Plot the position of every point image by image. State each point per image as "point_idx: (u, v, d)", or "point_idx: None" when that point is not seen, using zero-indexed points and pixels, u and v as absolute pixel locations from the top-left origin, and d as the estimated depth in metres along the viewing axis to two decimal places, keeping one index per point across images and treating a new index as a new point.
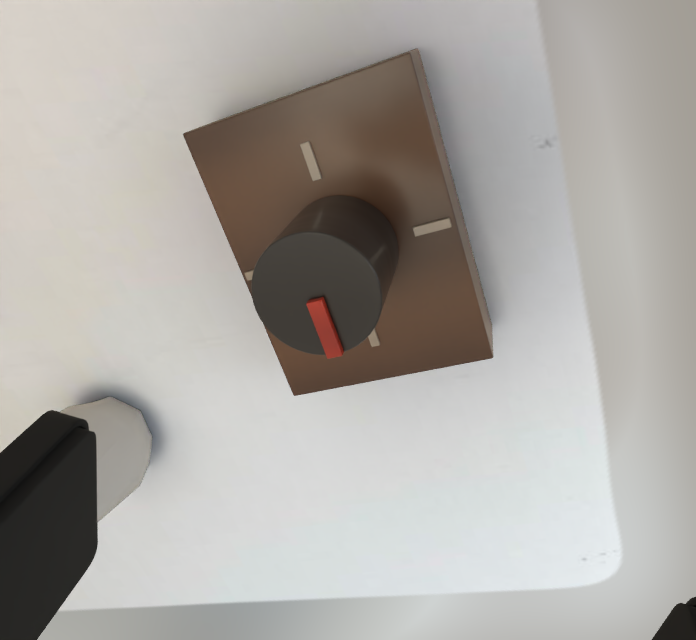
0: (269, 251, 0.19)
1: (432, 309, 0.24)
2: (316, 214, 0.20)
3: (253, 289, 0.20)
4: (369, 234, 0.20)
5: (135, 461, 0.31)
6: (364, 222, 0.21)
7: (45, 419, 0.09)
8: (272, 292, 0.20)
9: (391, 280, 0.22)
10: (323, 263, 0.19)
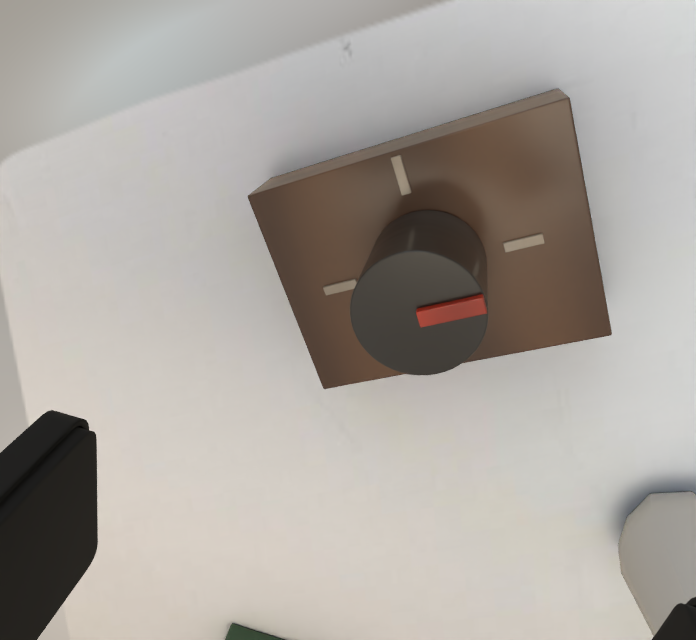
0: (371, 352, 0.20)
1: (498, 173, 0.21)
2: None
3: (411, 372, 0.20)
4: (375, 250, 0.20)
5: (695, 523, 0.26)
6: (372, 251, 0.21)
7: (45, 419, 0.09)
8: (413, 355, 0.20)
9: (437, 226, 0.20)
10: (380, 304, 0.19)
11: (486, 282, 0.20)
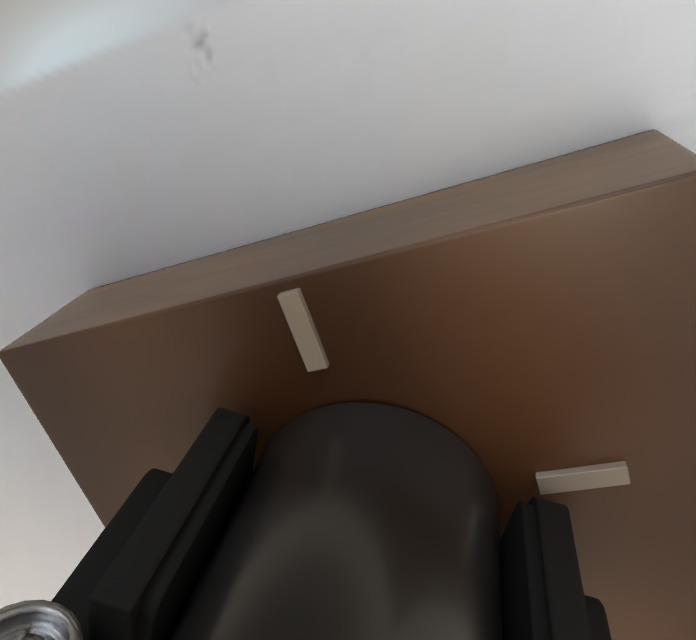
0: None
1: (527, 335, 0.09)
2: None
3: None
4: (224, 545, 0.08)
5: None
6: (228, 522, 0.09)
7: (219, 415, 0.10)
8: None
9: (376, 483, 0.08)
10: None
11: (501, 636, 0.08)
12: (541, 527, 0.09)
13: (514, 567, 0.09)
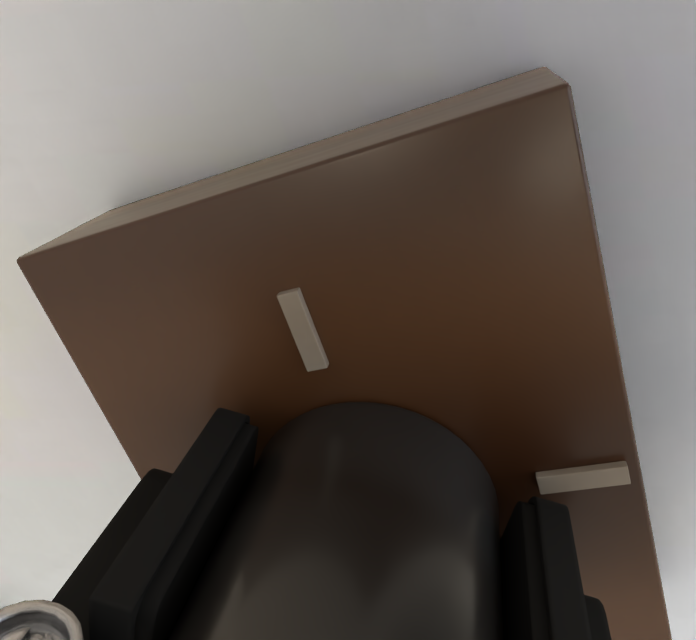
0: None
1: None
2: None
3: None
4: (223, 546, 0.08)
5: None
6: (227, 523, 0.09)
7: (219, 415, 0.10)
8: None
9: (375, 483, 0.08)
10: None
11: (500, 635, 0.08)
12: (541, 527, 0.09)
13: (514, 567, 0.09)
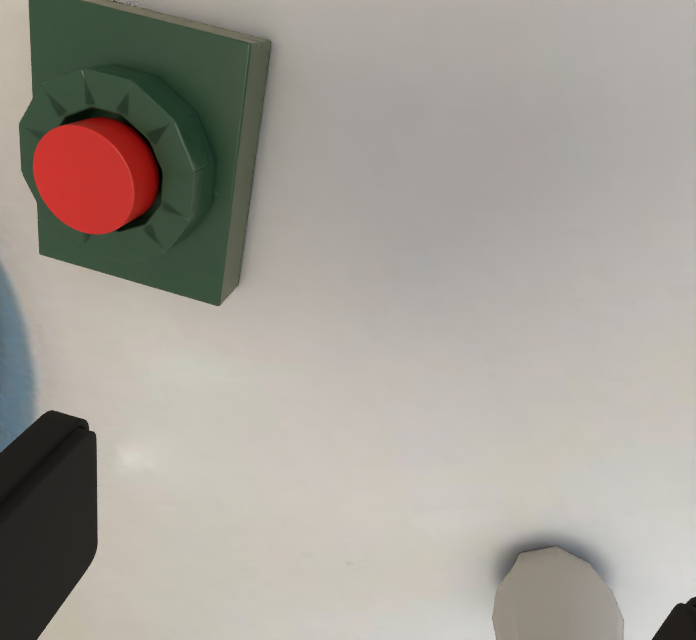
0: None
1: None
2: None
3: None
4: None
5: (622, 634, 0.27)
6: None
7: (45, 419, 0.09)
8: None
9: None
10: None
11: None
12: None
13: None
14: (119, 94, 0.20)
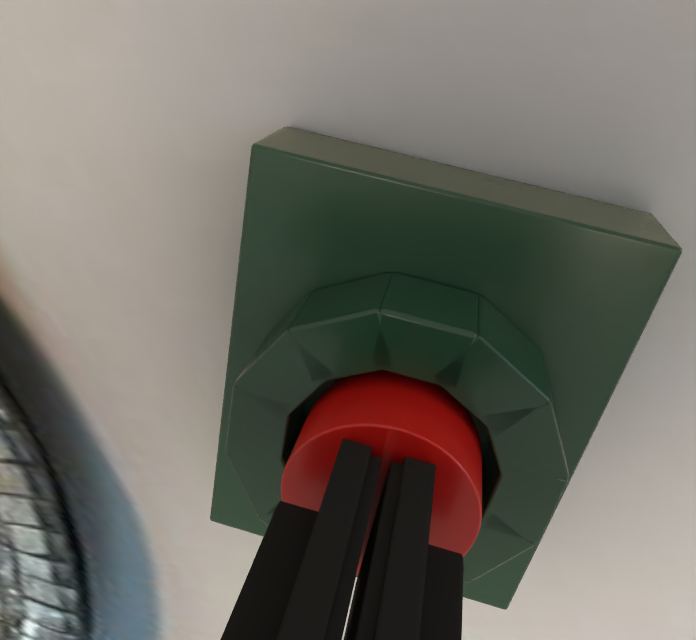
0: None
1: None
2: None
3: None
4: None
5: None
6: None
7: (346, 448, 0.10)
8: None
9: None
10: None
11: None
12: (402, 483, 0.09)
13: (377, 522, 0.09)
14: (445, 354, 0.10)
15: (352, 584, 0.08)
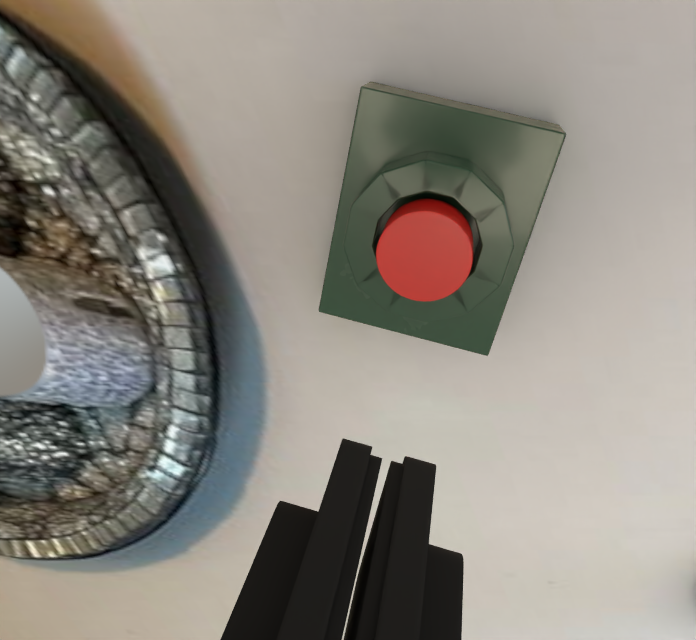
0: None
1: None
2: None
3: None
4: None
5: None
6: None
7: (346, 447, 0.10)
8: None
9: None
10: None
11: None
12: (402, 483, 0.09)
13: (377, 522, 0.09)
14: (455, 181, 0.22)
15: (352, 584, 0.08)
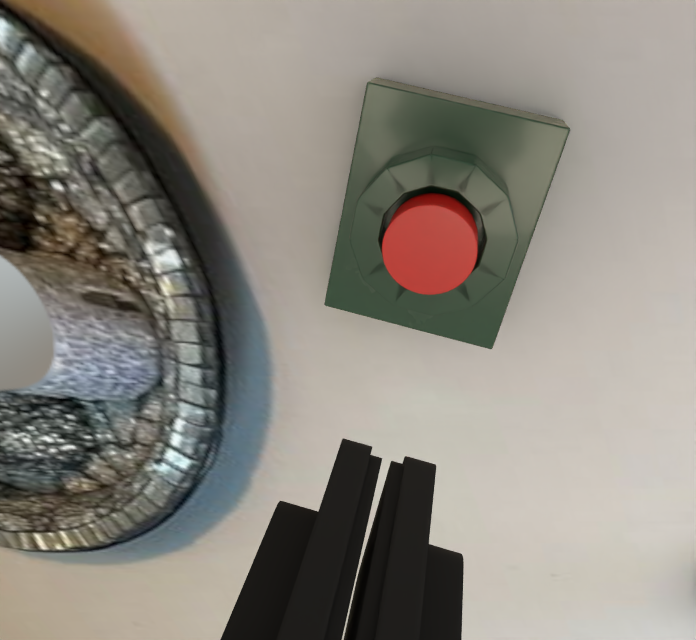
0: None
1: None
2: None
3: None
4: None
5: None
6: None
7: (346, 448, 0.10)
8: None
9: None
10: None
11: None
12: (402, 483, 0.09)
13: (377, 522, 0.09)
14: (460, 175, 0.23)
15: (352, 584, 0.08)
